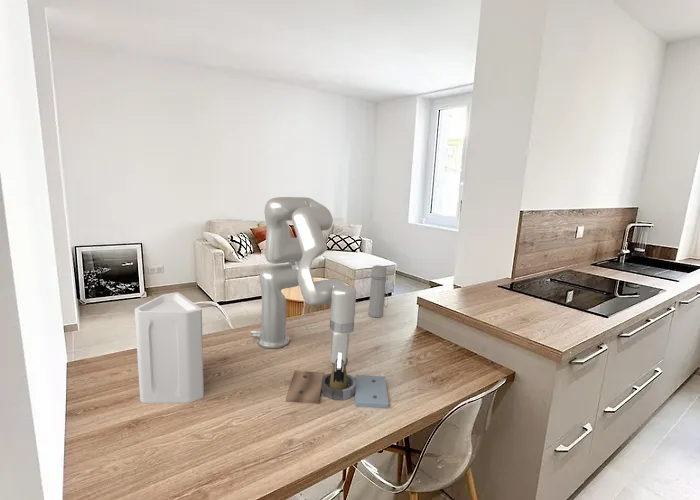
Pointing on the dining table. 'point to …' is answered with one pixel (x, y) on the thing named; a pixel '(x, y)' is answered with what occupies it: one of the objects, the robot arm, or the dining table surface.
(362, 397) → the leaf
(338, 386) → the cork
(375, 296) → the water bottle
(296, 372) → the leaf
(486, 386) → the dining table surface
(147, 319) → the white triangular canister
